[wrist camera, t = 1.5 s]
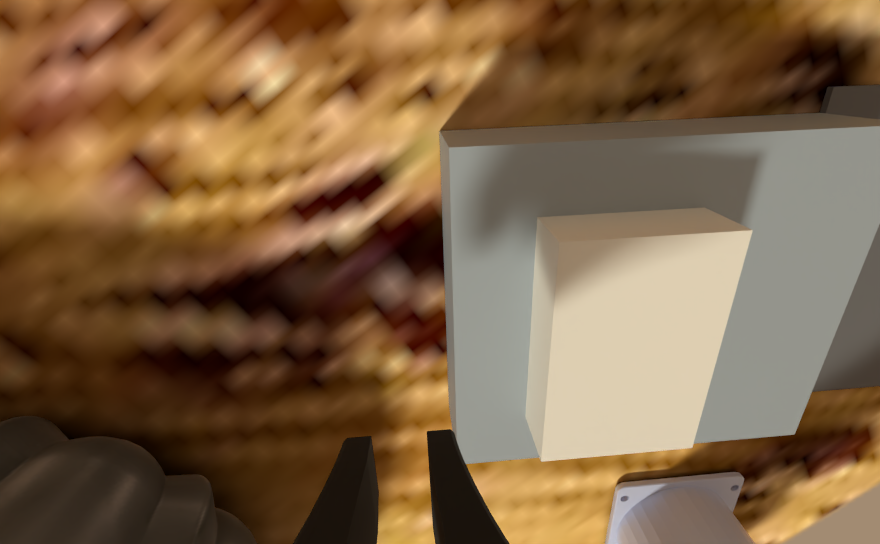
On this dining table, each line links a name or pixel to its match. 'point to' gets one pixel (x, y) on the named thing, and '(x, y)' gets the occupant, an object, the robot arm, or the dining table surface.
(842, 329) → the mat
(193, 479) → the bundt pan
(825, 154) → the grey flat block
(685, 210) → the cream rectangular block
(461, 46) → the dining table surface
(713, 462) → the dining table surface
